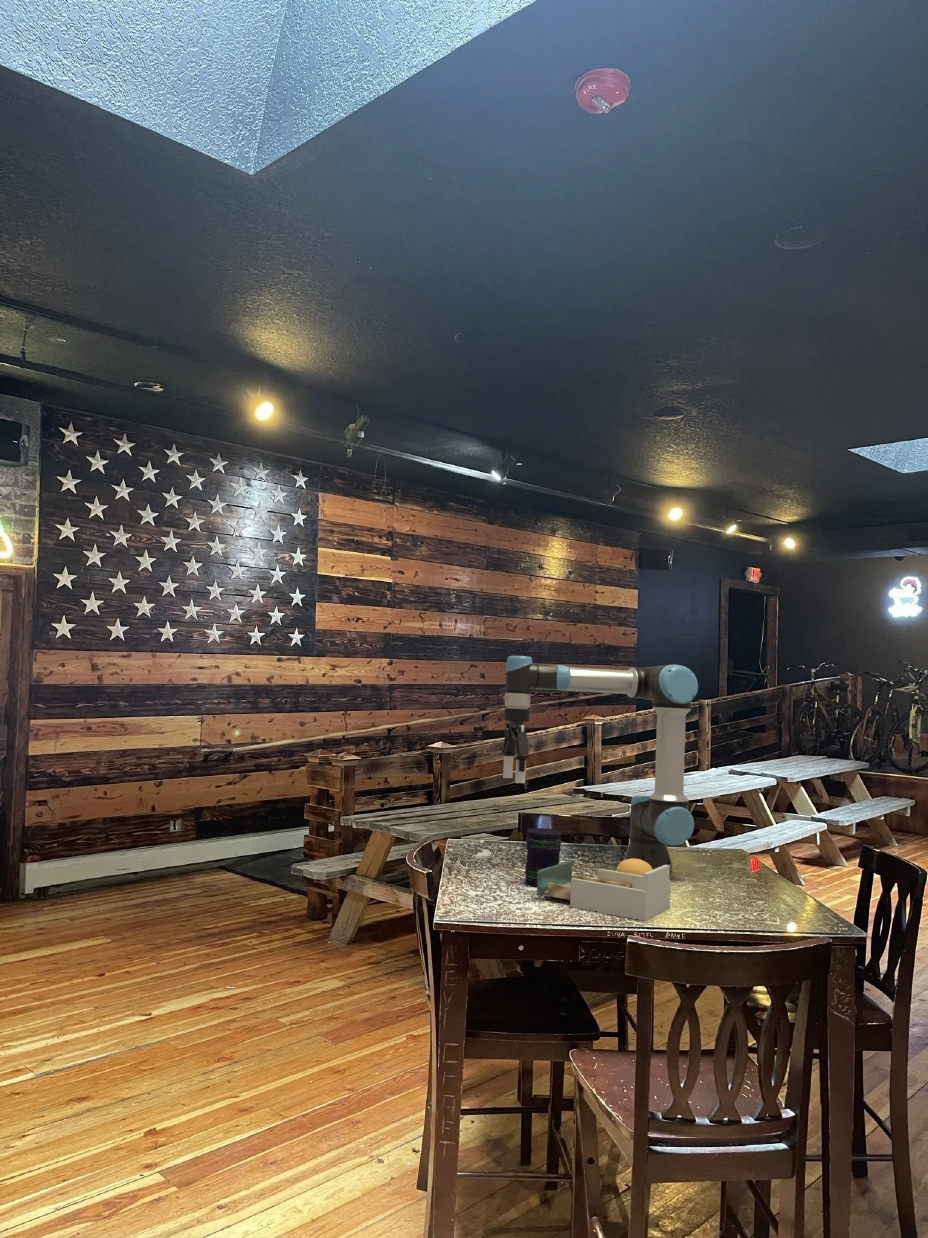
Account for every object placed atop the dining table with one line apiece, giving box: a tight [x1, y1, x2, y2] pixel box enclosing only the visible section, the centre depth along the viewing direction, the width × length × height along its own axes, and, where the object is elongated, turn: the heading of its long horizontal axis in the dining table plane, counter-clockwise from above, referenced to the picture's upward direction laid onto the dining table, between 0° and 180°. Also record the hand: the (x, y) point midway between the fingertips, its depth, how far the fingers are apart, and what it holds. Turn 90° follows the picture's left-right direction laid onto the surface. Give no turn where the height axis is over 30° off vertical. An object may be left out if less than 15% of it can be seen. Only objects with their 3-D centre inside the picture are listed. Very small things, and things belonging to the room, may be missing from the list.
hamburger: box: [614, 859, 653, 876], centre depth 246 cm, size 12×12×9 cm
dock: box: [569, 865, 672, 922], centre depth 225 cm, size 20×18×11 cm
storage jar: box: [524, 827, 562, 888], centre depth 247 cm, size 10×10×15 cm
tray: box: [536, 861, 632, 901], centre depth 230 cm, size 20×18×6 cm
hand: (513, 780), depth 256 cm, fingers open, 13 cm apart
